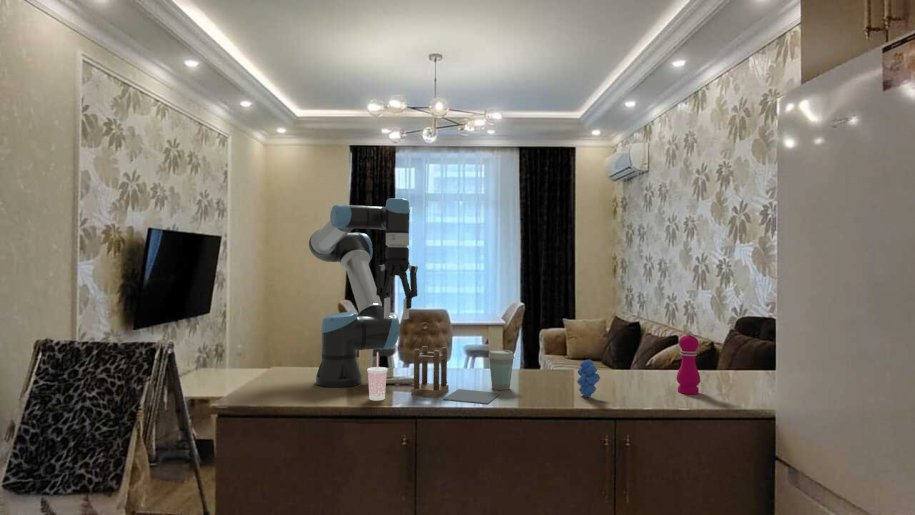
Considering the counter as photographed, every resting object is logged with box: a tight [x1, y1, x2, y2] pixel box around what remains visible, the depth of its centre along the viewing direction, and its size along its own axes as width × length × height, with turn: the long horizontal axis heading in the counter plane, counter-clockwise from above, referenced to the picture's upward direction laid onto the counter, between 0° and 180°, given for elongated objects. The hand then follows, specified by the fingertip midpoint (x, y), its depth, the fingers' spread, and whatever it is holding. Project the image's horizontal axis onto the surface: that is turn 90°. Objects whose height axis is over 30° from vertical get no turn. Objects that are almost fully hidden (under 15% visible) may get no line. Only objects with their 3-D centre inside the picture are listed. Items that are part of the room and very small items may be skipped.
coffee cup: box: [487, 349, 515, 391], centre depth 194 cm, size 9×8×12 cm
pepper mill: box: [675, 330, 701, 395], centre depth 191 cm, size 7×7×20 cm
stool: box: [410, 345, 450, 398], centre depth 186 cm, size 9×9×14 cm
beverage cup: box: [366, 351, 389, 401], centre depth 177 cm, size 6×6×14 cm
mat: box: [442, 388, 501, 405], centre depth 181 cm, size 14×14×1 cm
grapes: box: [576, 359, 601, 398], centre depth 182 cm, size 12×7×12 cm, turn 10°
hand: (396, 318), depth 190 cm, fingers open, 6 cm apart
